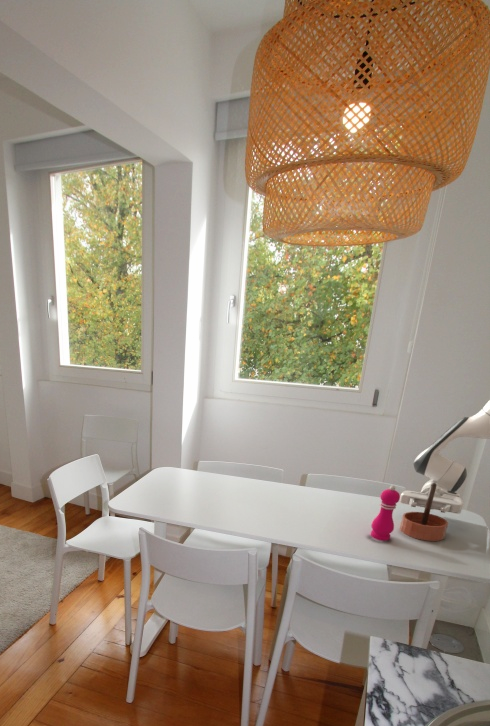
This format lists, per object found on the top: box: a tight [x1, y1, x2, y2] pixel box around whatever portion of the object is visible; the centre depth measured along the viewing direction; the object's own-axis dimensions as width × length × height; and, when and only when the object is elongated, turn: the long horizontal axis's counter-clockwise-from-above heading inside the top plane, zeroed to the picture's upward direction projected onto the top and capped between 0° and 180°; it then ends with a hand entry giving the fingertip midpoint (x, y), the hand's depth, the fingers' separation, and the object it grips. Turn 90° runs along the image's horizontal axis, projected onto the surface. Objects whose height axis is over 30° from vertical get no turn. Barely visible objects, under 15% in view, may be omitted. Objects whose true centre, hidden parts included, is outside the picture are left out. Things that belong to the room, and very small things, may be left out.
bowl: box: [399, 511, 449, 542], centre depth 171 cm, size 14×14×6 cm
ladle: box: [421, 483, 437, 526], centre depth 169 cm, size 6×6×19 cm
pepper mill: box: [370, 485, 401, 542], centre depth 164 cm, size 7×7×20 cm
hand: (428, 507), depth 168 cm, fingers open, 8 cm apart
